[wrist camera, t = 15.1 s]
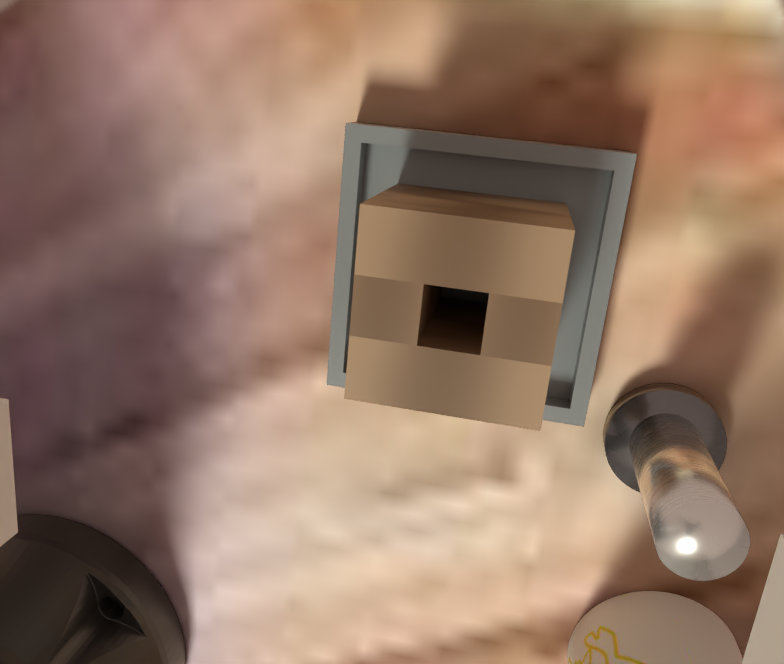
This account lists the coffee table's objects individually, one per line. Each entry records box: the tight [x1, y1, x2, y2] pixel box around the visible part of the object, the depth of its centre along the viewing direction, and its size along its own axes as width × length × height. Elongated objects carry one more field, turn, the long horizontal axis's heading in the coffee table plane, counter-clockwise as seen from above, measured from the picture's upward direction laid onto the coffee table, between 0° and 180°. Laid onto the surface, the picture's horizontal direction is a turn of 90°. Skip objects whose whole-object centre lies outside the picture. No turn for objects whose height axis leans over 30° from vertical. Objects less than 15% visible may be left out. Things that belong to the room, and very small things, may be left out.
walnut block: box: [344, 183, 575, 431], centre depth 28 cm, size 7×7×7 cm
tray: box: [327, 122, 637, 427], centre depth 31 cm, size 11×11×2 cm
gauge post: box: [603, 383, 750, 581], centre depth 29 cm, size 5×5×8 cm
